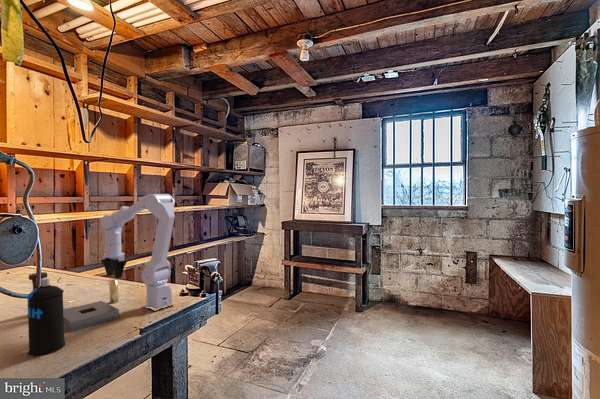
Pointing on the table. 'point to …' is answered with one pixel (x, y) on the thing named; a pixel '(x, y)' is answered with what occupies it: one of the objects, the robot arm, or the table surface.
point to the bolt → (34, 276)
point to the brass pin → (113, 290)
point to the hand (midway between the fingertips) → (114, 276)
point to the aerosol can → (45, 319)
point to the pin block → (89, 315)
